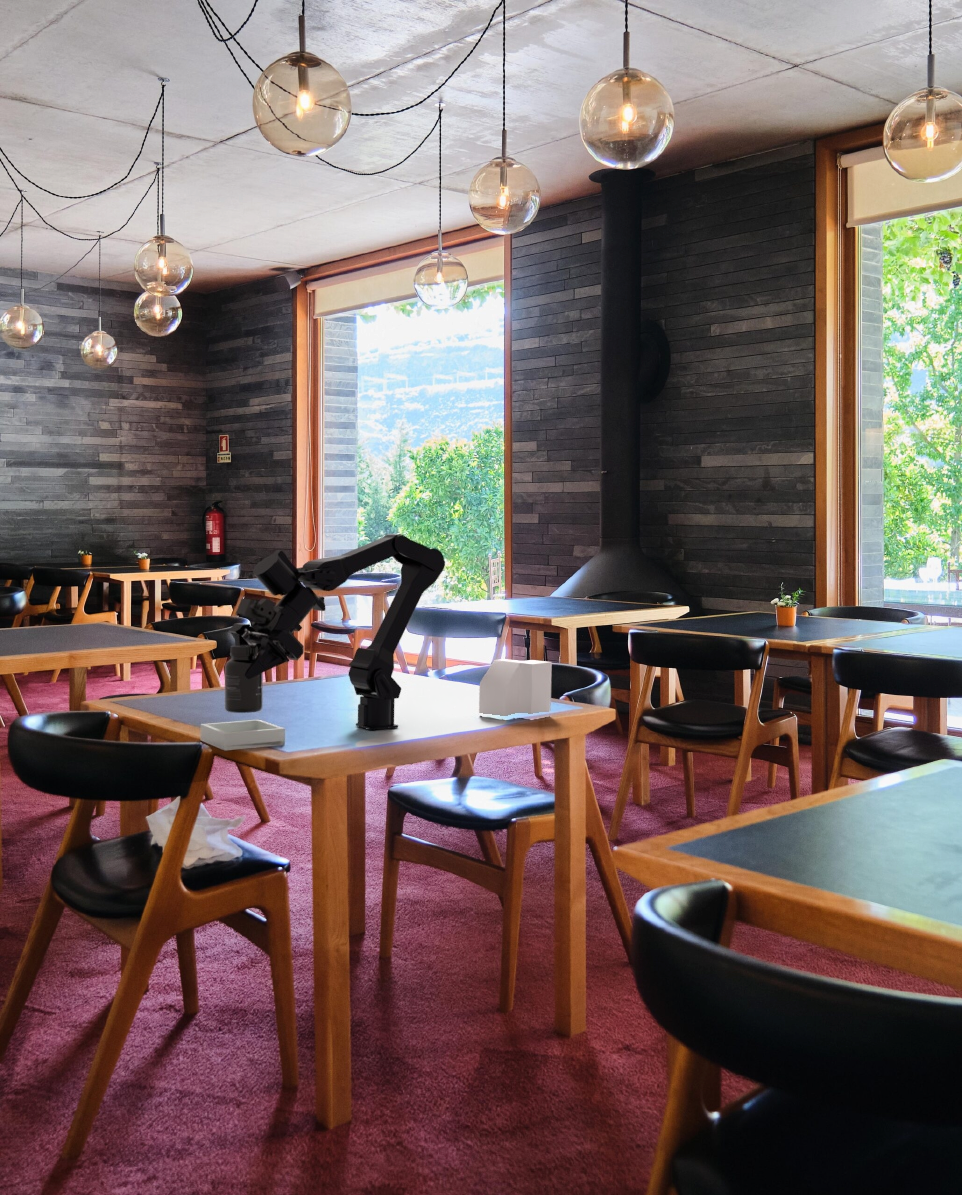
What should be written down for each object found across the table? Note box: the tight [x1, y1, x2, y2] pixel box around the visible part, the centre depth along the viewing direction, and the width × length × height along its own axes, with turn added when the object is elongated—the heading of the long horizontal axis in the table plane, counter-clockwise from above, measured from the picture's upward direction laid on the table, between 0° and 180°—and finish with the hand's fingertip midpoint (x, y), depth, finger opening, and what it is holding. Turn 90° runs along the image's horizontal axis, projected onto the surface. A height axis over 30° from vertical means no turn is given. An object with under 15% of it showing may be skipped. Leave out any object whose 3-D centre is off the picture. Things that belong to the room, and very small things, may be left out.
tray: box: [200, 719, 286, 752], centre depth 209 cm, size 12×12×3 cm
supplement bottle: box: [224, 644, 264, 714], centre depth 208 cm, size 7×7×12 cm
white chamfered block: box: [478, 658, 553, 716], centre depth 245 cm, size 11×11×12 cm
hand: (237, 675), depth 207 cm, fingers closed on supplement bottle, 7 cm apart
